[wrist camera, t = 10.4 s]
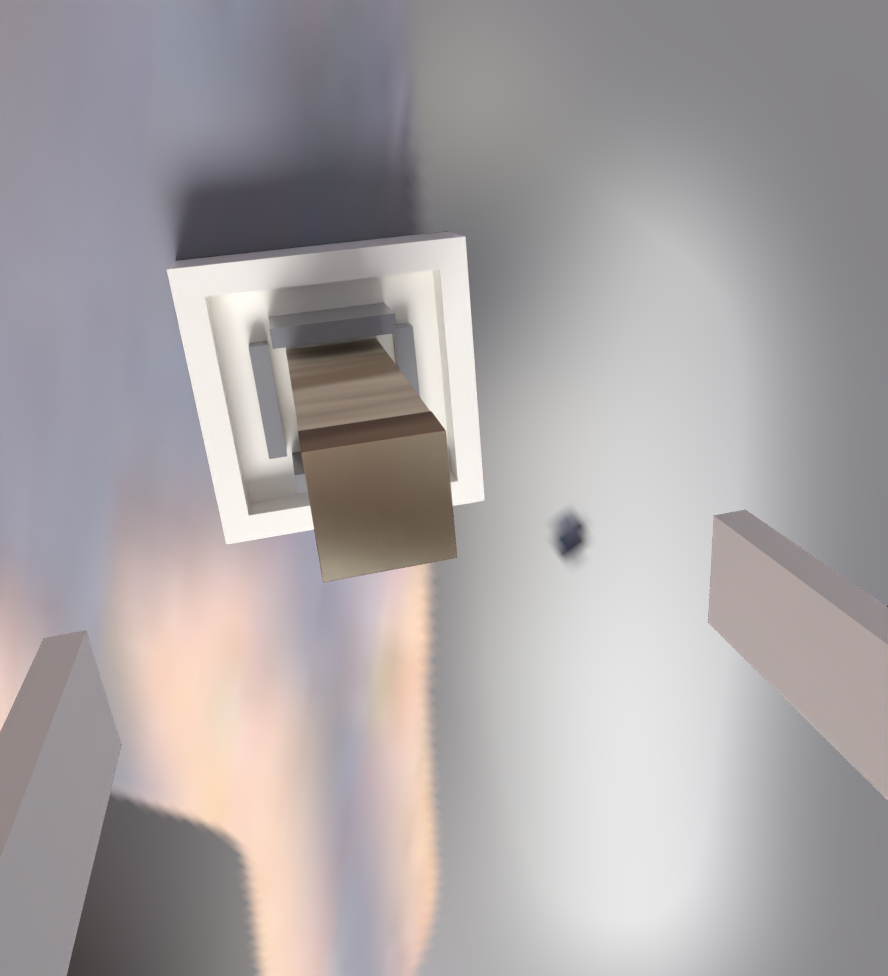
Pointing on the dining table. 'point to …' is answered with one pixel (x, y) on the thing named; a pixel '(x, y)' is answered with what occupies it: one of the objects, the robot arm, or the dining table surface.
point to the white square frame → (315, 322)
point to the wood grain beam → (370, 462)
